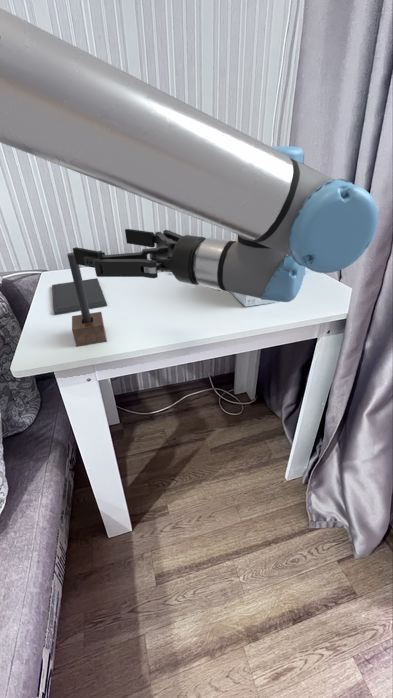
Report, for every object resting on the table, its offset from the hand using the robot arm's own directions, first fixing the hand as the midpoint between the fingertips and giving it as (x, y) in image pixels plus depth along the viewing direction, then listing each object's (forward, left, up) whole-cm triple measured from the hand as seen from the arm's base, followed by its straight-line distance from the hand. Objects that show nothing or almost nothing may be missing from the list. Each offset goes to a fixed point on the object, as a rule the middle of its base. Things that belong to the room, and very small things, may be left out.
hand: (103, 245), depth 60 cm
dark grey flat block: (-25, +22, -23) cm, 40 cm away
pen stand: (-9, +2, -23) cm, 25 cm away
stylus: (-9, +2, -23) cm, 25 cm away
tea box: (+25, +34, -23) cm, 48 cm away
